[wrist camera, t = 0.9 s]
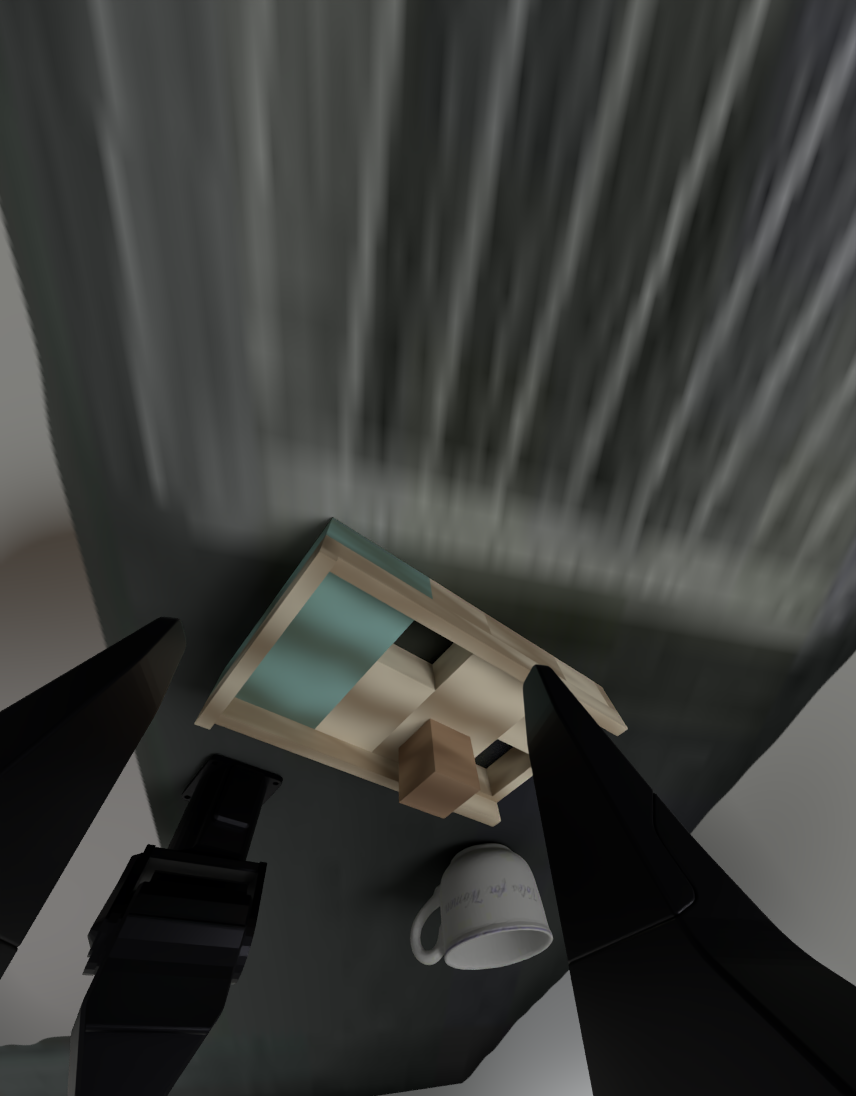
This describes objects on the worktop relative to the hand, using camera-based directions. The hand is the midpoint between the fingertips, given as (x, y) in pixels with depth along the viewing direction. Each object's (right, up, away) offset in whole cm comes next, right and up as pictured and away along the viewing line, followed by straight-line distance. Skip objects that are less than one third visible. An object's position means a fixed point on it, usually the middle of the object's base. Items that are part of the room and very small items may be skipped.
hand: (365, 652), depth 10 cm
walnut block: (+2, -12, +20) cm, 23 cm away
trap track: (+1, -8, +20) cm, 21 cm away
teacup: (+6, -33, +33) cm, 47 cm away
